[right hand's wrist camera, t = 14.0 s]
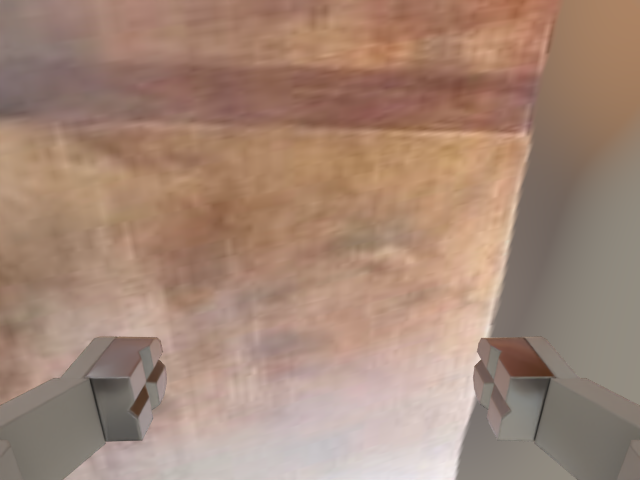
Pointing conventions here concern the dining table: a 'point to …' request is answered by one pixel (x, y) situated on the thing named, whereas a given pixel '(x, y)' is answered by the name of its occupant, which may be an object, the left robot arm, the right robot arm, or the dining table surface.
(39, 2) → the dining table surface
